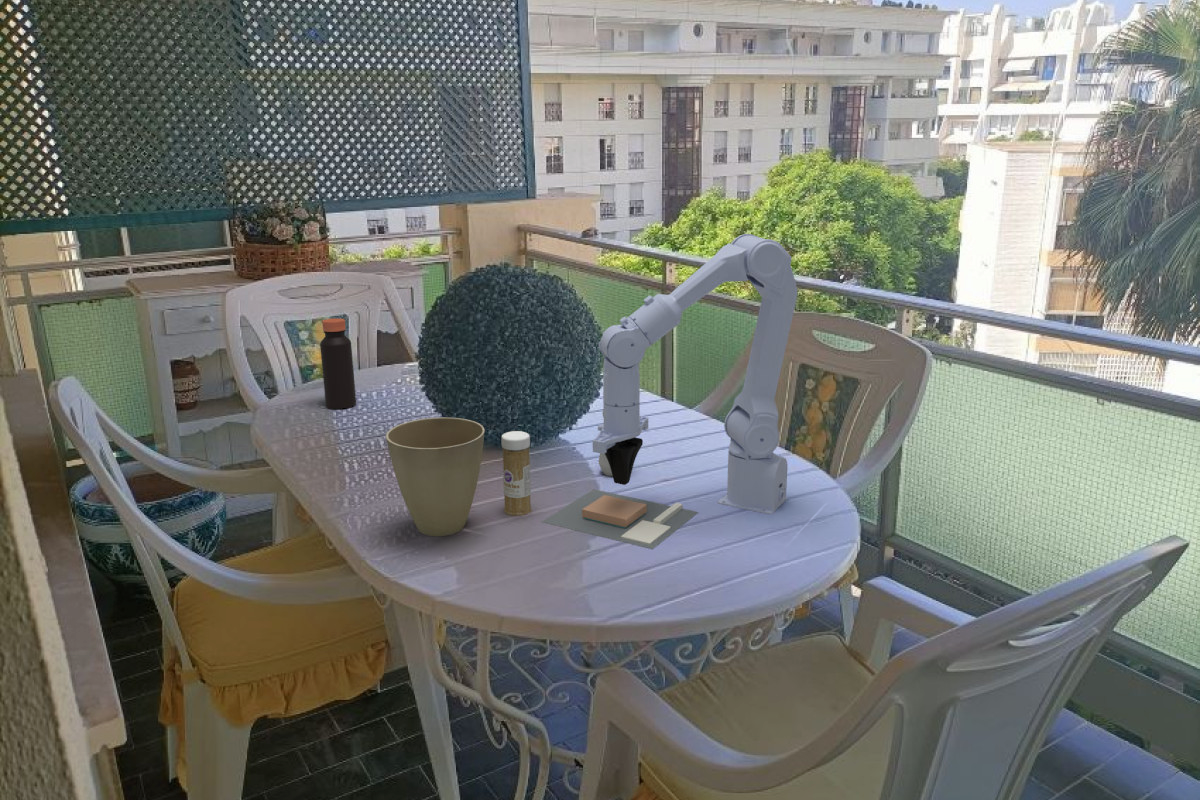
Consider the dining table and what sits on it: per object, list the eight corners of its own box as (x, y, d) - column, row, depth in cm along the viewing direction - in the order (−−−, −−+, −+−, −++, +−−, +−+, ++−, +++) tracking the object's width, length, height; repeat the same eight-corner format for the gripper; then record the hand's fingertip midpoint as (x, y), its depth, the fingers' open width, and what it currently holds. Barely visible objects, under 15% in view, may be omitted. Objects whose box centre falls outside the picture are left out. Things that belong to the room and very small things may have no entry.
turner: (665, 504, 151) (665, 500, 151) (693, 510, 149) (693, 506, 148) (620, 538, 139) (620, 533, 139) (649, 545, 136) (649, 540, 136)
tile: (646, 504, 147) (625, 519, 142) (646, 513, 148) (625, 529, 142) (604, 495, 151) (582, 509, 146) (604, 504, 152) (582, 518, 146)
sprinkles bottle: (499, 515, 149) (495, 436, 145) (512, 505, 153) (510, 428, 149) (523, 519, 147) (521, 440, 143) (537, 509, 151) (534, 432, 147)
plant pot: (375, 527, 144) (367, 431, 140) (452, 501, 154) (447, 411, 150) (428, 556, 134) (422, 454, 130) (507, 527, 144) (504, 431, 140)
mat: (698, 514, 148) (698, 512, 148) (652, 551, 135) (652, 549, 135) (593, 491, 158) (593, 489, 158) (541, 523, 145) (541, 521, 145)
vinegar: (348, 399, 215) (341, 316, 209) (361, 406, 210) (354, 320, 204) (321, 405, 211) (312, 320, 205) (333, 411, 206) (325, 324, 200)
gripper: (622, 387, 151) (622, 464, 155) (575, 409, 140) (576, 492, 143) (659, 393, 148) (659, 472, 152) (615, 416, 136) (615, 501, 140)
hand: (621, 482), depth 147 cm, fingers closed
